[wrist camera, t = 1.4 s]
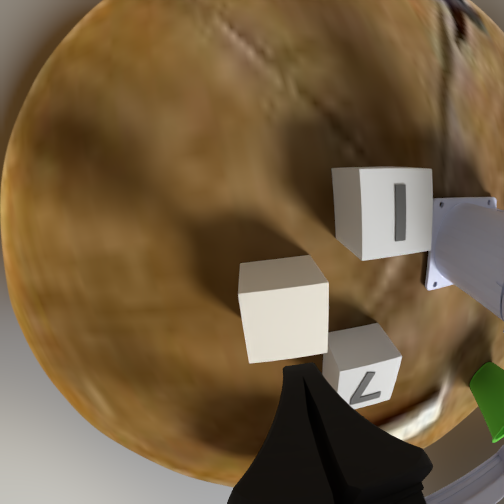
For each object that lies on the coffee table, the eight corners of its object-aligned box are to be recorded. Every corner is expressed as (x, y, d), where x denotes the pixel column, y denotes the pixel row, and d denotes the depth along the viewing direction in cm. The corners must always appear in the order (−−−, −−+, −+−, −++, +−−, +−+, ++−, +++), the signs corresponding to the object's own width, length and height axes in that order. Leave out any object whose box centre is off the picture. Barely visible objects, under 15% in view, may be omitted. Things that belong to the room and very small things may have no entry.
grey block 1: (392, 166, 17) (432, 168, 12) (394, 231, 19) (431, 250, 14) (331, 168, 17) (359, 168, 13) (335, 238, 19) (362, 261, 14)
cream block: (309, 254, 19) (328, 282, 14) (311, 314, 21) (327, 352, 16) (240, 262, 19) (237, 293, 15) (248, 322, 21) (249, 363, 16)
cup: (496, 373, 26) (529, 411, 15) (457, 405, 27) (487, 450, 17) (503, 339, 24) (545, 379, 13) (460, 376, 25) (499, 428, 14)
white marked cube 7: (377, 322, 21) (402, 356, 16) (370, 364, 23) (390, 399, 18) (323, 332, 21) (340, 372, 16) (322, 374, 23) (334, 414, 18)
